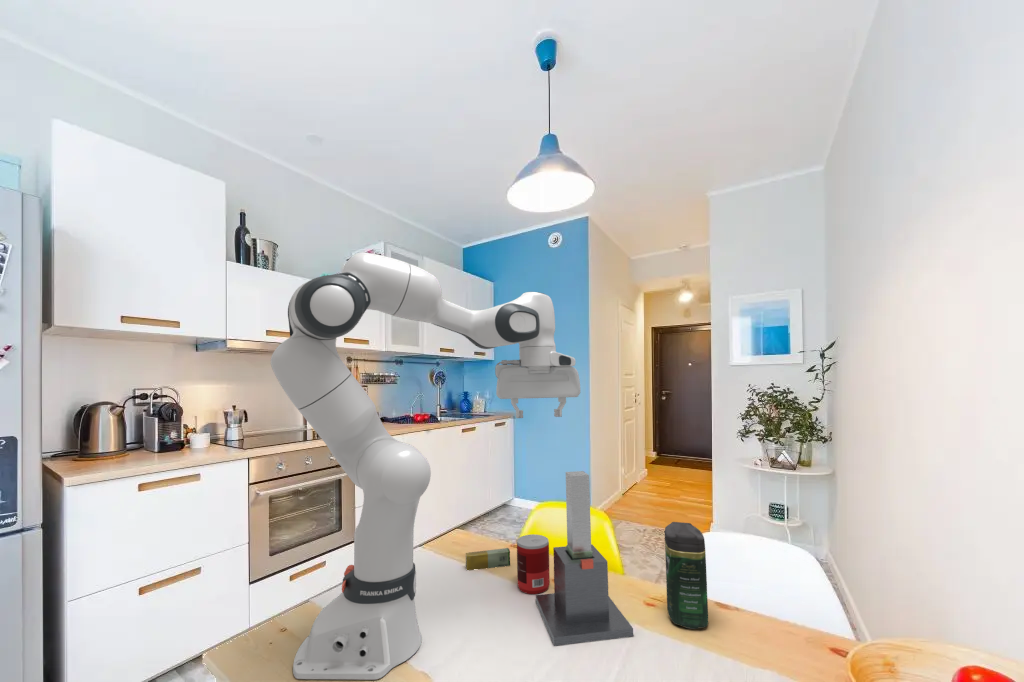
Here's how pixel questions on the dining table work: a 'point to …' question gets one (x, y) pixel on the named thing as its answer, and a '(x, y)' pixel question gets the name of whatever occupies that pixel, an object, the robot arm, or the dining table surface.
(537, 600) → the stand housing
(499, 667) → the dining table surface
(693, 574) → the coffee jar
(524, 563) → the canned food
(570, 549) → the column
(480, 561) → the medication box
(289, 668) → the dining table surface
